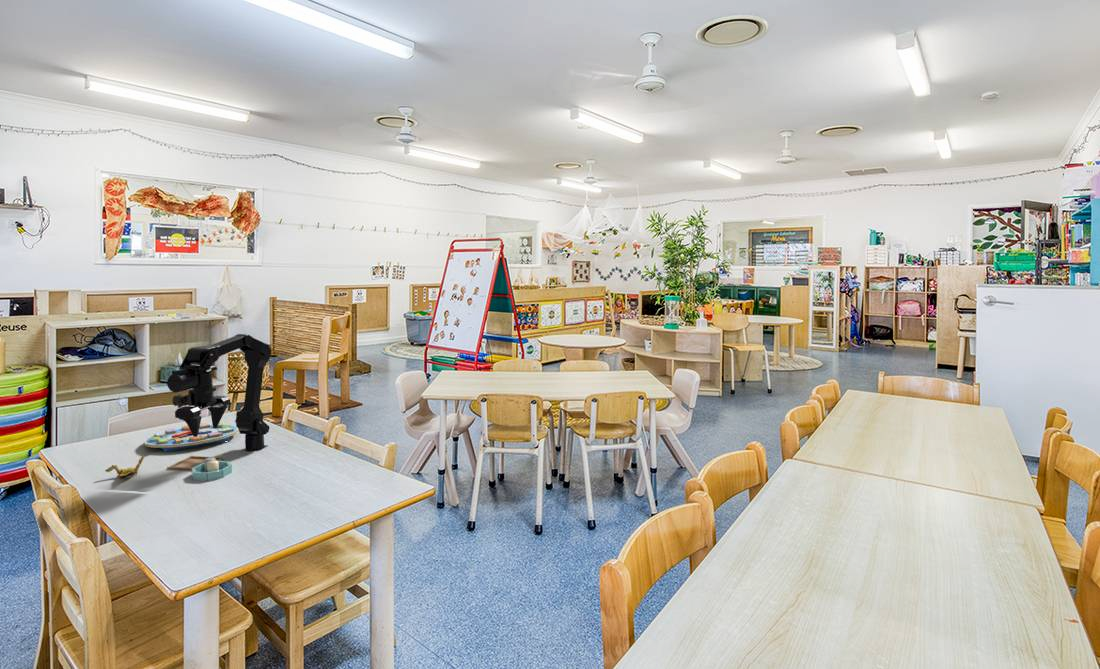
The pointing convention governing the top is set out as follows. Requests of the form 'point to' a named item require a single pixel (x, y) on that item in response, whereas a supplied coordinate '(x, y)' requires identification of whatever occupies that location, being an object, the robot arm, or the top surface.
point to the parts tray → (190, 463)
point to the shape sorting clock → (190, 437)
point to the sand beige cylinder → (212, 466)
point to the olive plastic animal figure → (125, 471)
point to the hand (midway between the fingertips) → (205, 432)
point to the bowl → (223, 471)
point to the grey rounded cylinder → (207, 461)
